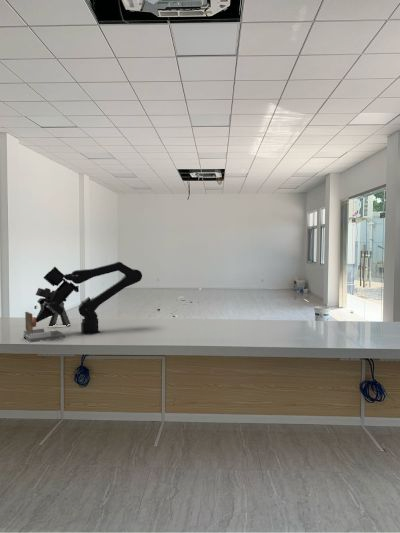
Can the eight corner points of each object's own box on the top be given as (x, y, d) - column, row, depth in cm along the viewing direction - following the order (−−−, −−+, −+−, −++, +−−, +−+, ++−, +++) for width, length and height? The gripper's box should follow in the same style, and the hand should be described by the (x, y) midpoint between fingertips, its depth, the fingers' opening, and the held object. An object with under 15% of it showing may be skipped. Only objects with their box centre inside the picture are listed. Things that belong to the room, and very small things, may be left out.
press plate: (32, 328, 168) (32, 311, 168) (37, 331, 162) (37, 313, 162) (25, 329, 167) (25, 311, 166) (30, 332, 160) (30, 314, 160)
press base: (57, 333, 176) (57, 326, 176) (65, 337, 167) (65, 330, 167) (23, 337, 168) (23, 330, 168) (30, 342, 159) (30, 334, 159)
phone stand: (70, 325, 195) (70, 300, 195) (67, 327, 189) (66, 302, 189) (52, 325, 195) (51, 301, 194) (48, 327, 189) (47, 302, 188)
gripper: (41, 279, 175) (15, 306, 169) (54, 282, 160) (26, 312, 154) (60, 296, 180) (35, 323, 174) (74, 300, 165) (47, 329, 159)
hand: (35, 321), depth 165 cm, fingers closed, pressing on press plate
